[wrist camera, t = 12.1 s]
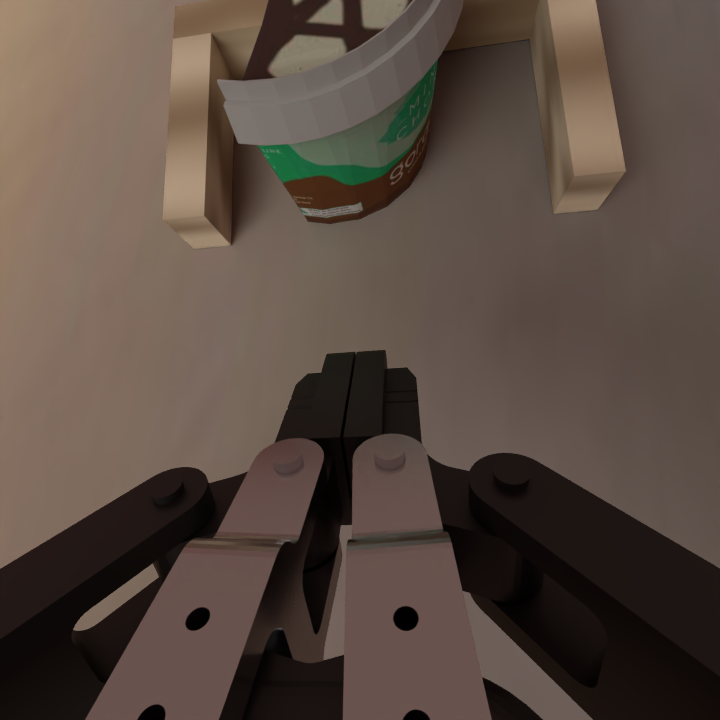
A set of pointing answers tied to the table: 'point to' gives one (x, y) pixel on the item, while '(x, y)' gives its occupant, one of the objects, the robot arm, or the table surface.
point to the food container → (342, 98)
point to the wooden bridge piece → (474, 28)
